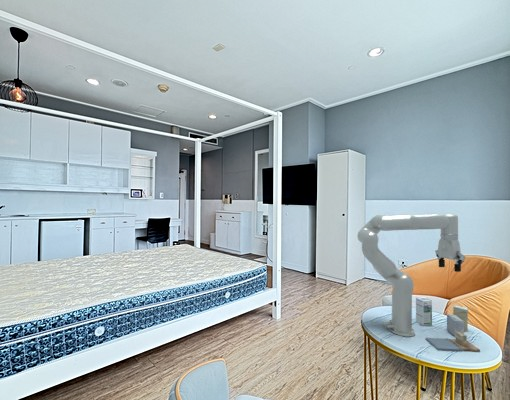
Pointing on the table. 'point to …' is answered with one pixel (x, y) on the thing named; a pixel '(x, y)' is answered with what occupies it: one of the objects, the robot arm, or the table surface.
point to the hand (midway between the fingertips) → (449, 269)
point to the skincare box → (461, 315)
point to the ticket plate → (443, 344)
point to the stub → (463, 342)
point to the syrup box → (424, 311)
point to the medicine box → (455, 324)
